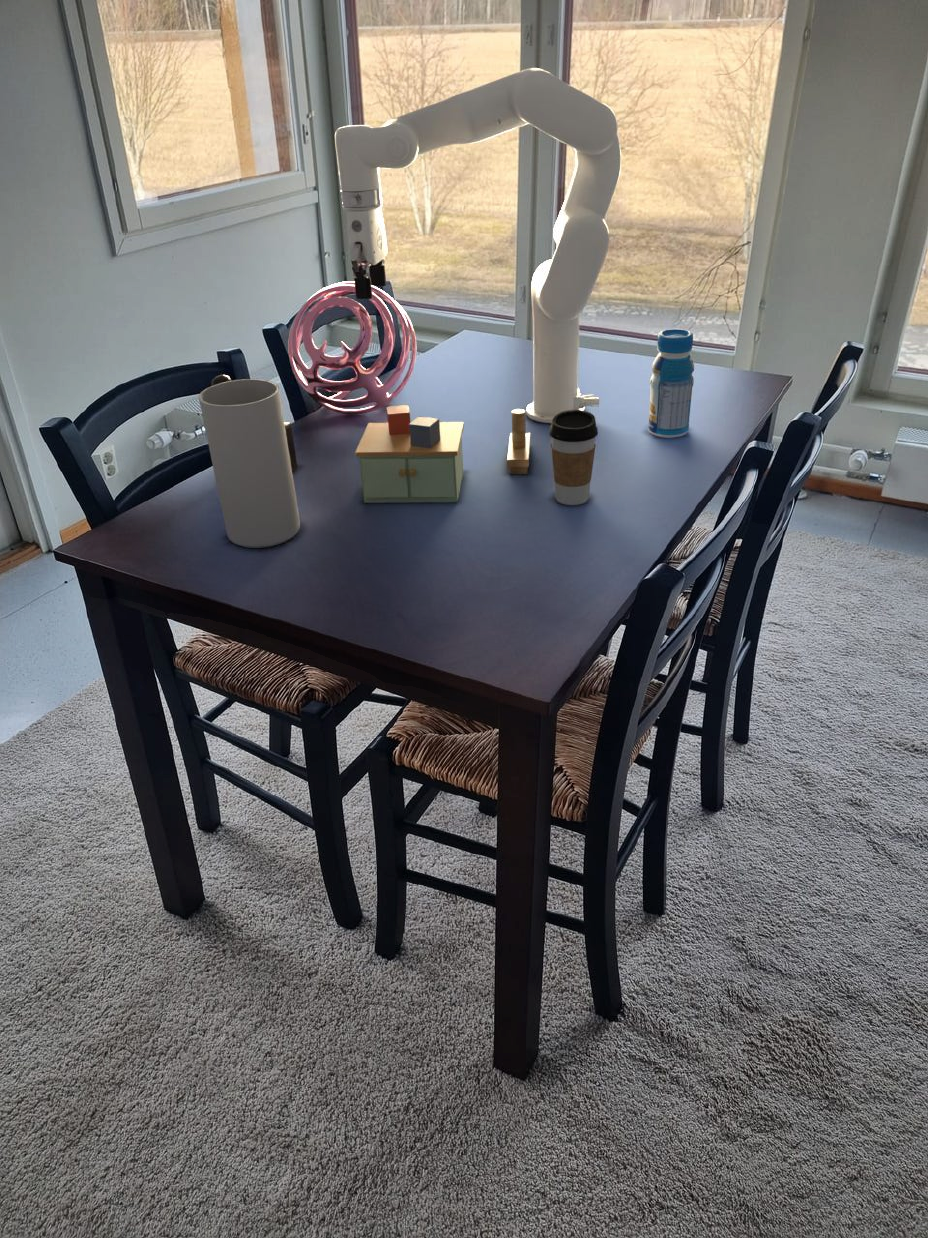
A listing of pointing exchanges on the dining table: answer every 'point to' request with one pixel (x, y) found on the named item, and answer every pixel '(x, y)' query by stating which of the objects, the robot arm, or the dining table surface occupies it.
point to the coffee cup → (573, 455)
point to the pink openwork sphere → (351, 351)
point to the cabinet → (410, 466)
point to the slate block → (424, 432)
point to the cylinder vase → (251, 461)
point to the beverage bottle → (671, 384)
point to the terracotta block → (398, 419)
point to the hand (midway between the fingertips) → (371, 291)
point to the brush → (518, 444)
